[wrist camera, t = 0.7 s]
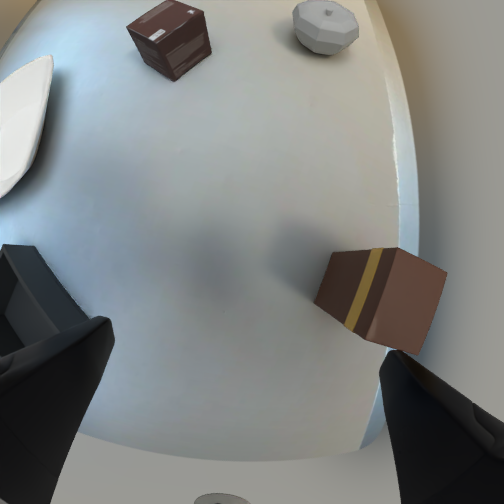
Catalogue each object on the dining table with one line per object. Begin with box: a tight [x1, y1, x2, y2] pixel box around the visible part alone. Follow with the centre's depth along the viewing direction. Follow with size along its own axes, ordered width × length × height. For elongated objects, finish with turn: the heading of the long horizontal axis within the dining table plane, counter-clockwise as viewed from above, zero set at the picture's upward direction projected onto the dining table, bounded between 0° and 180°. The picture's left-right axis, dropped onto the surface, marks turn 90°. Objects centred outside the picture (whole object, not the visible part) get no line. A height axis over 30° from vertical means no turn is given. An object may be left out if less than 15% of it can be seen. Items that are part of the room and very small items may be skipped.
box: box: [126, 0, 212, 81], centre depth 21 cm, size 6×6×7 cm
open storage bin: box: [0, 244, 90, 358], centre depth 22 cm, size 12×12×6 cm
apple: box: [292, 0, 359, 55], centre depth 22 cm, size 8×8×7 cm
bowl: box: [0, 55, 54, 198], centre depth 22 cm, size 22×22×5 cm
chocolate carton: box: [314, 247, 447, 355], centre depth 18 cm, size 5×4×12 cm
